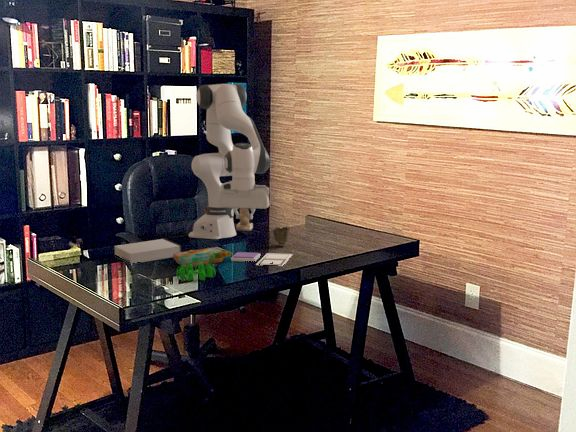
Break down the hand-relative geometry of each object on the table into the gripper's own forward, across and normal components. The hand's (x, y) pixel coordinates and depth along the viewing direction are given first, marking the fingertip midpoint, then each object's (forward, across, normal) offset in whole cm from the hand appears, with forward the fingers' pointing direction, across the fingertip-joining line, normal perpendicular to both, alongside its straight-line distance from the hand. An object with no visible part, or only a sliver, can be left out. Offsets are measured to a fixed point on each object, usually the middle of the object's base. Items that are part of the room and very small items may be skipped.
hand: (244, 218), depth 263 cm
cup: (+17, -10, -24) cm, 31 cm away
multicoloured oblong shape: (+17, +16, +8) cm, 24 cm away
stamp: (+4, 0, 0) cm, 4 cm away
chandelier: (+17, +11, +29) cm, 35 cm away
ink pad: (+16, 0, 0) cm, 16 cm away
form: (+16, -12, 0) cm, 20 cm away
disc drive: (+18, +41, +1) cm, 45 cm away
